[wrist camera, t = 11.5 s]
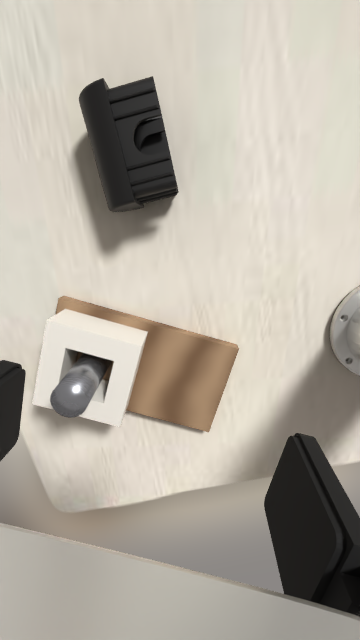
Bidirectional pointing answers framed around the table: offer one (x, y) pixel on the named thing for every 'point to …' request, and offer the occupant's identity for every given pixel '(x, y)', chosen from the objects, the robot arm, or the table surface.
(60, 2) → the table surface
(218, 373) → the board
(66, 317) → the socket
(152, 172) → the end cap
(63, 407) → the peg
